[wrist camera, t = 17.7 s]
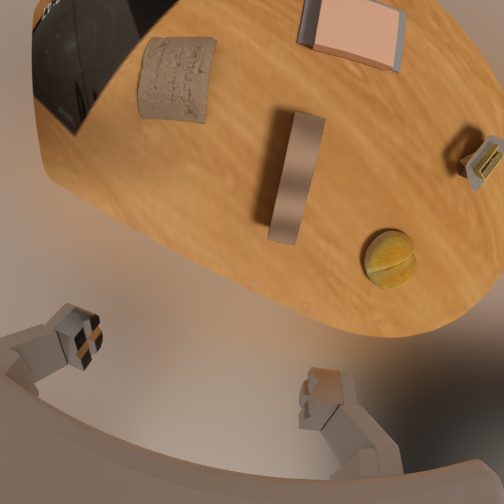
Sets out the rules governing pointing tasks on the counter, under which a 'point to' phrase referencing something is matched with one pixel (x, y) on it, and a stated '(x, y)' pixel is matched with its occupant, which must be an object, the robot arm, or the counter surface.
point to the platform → (482, 161)
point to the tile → (358, 31)
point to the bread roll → (390, 260)
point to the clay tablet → (176, 78)
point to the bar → (296, 177)
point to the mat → (311, 23)
